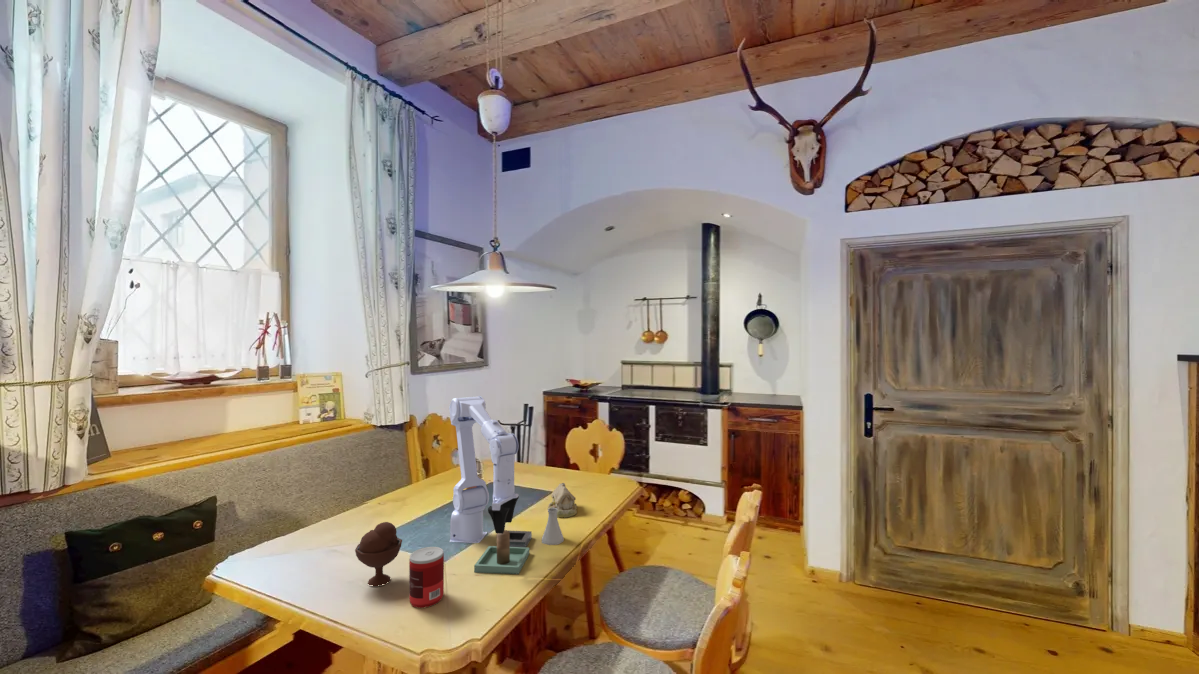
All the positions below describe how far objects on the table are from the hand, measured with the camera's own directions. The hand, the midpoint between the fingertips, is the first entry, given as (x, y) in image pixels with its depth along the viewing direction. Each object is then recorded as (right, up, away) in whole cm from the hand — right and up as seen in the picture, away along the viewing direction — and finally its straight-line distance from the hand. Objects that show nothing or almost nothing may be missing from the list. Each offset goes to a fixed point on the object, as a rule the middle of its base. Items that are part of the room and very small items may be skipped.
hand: (503, 527), depth 133 cm
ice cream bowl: (-30, -10, -10) cm, 33 cm away
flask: (+12, -10, +14) cm, 21 cm away
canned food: (-15, -10, -19) cm, 26 cm away
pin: (0, -9, -1) cm, 9 cm away
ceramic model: (+14, -11, +41) cm, 44 cm away
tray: (0, -10, -1) cm, 10 cm away
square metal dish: (+1, -10, +12) cm, 16 cm away
